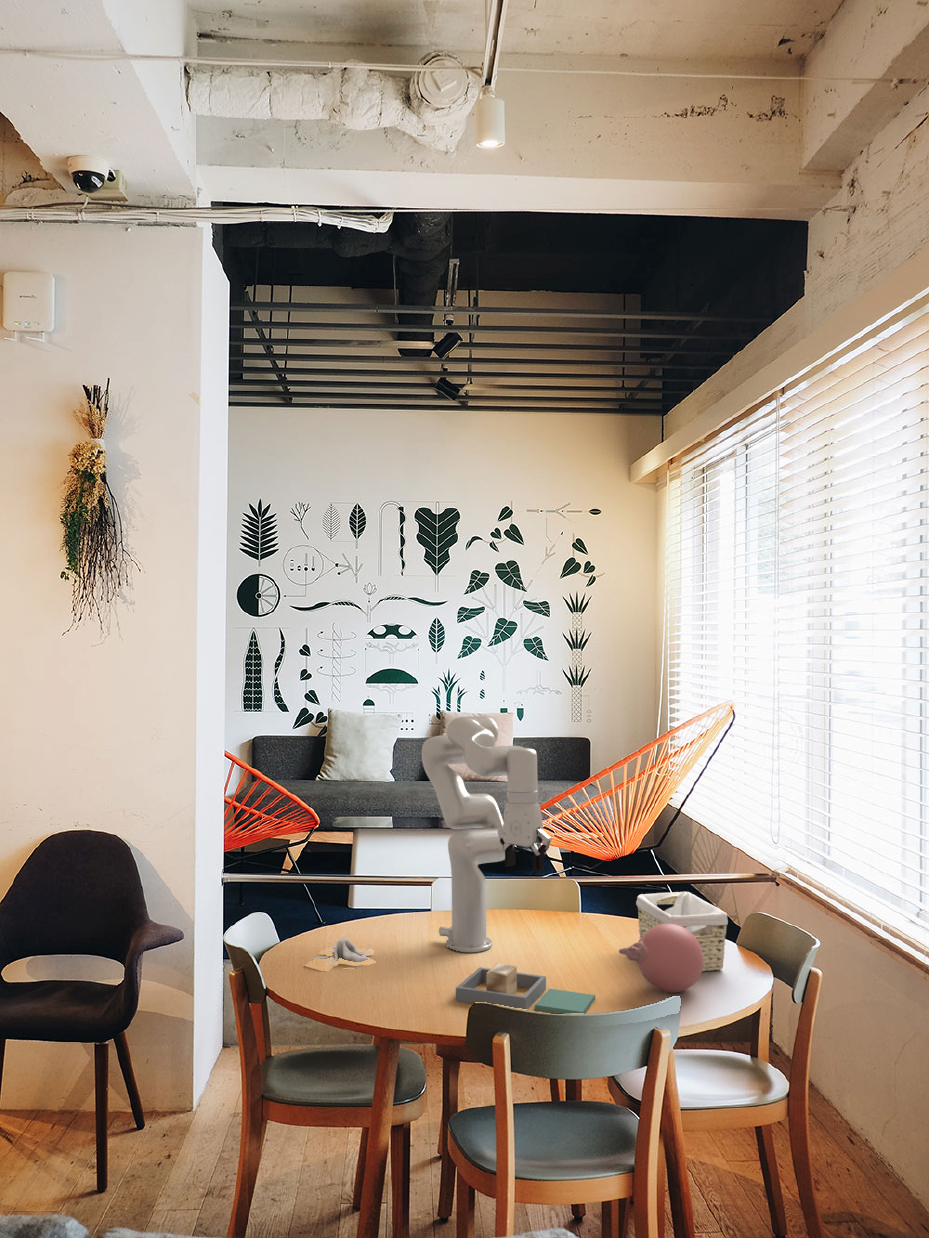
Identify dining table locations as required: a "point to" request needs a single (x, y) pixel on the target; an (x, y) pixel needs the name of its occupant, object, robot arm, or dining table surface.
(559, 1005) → the mat
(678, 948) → the pink balloon
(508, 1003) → the bin
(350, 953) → the cloth
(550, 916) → the dining table surface
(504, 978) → the label box
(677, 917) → the storage basket
